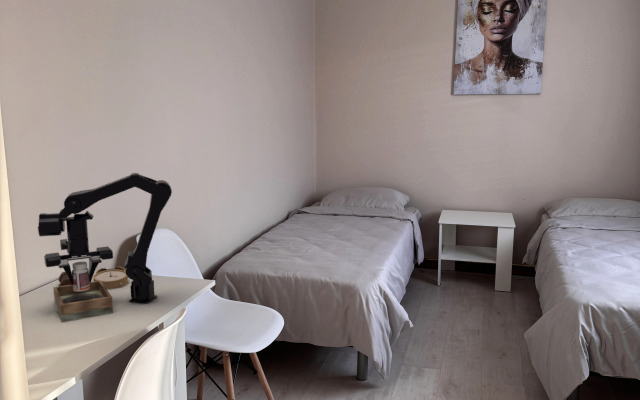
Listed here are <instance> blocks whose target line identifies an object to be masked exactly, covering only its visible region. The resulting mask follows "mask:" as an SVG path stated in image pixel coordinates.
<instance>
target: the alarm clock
mask: <svg viewBox="0 0 640 400" xmlns="http://www.w3.org/2000/svg"><path fill="white" fill-rule="evenodd" d="M92 279H93V281H100V280H101V281H102V283H103V284H104V286H105V287H106V289H107V290H114V289H119V288H123V287H125V286H126V285H127V284H128V283H129V278H128V277H127V275H126V268H124V266H116V267H115V268H105V267H101V268H99V269H97V271H96V272H95V273H94V274H93V277H92Z"/></svg>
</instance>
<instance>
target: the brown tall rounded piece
mask: <svg viewBox="0 0 640 400" xmlns="http://www.w3.org/2000/svg"><path fill="white" fill-rule="evenodd" d="M57 281H58V282H59V284H58V286H57V287H59V286H66V285H71V282H70V280H69V278H68V276H67V273H66V272H65V271H63V272H61V273H60V275H59V277H58V279H57Z"/></svg>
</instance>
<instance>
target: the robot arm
mask: <svg viewBox="0 0 640 400" xmlns="http://www.w3.org/2000/svg"><path fill="white" fill-rule="evenodd" d="M171 187H172V186H171V185H170V184H169V182H168V181H166V180H164V179H163V180H162V179H159V180H156V179H153V178H150V177H147V176H145V175H142V174H140V173H138V172H132V173H131V174H129V175H127V176H123V177H121V178H119V179H116V180H114V181H111V182H108V183H106V184H102V185H100V186H98V187H95V188H91V189H84V190H83V189H82V190H79V191H74V192H71V193H69V194H68V195H67V197H66V198H65V199H64V201H63V206H64V207H63V208H62V209H60V211H59V212H55V213H53V212H52V213H45V212H44V213H43V212H42V213H41V212H40V213H39V215H38V226H37V231H38V235H39V237H52V236H54V237H55V236H61V235H62V233H65V230H66V233H67V234H66V235H67V238H64V239H60V240H59V241H60V242H59V243H60V250H61V251H65V250H66V251H67V254H63V255H62V254H60V253H59V252H53V253H52V252H51V253H46V254H45V255H44V256H43V260H44V264H45V267H46V268H52V267H58V269H63V270H64V272H66V273H67V276H68V278H69V280H70V282H71V285H73V278H72V269H71V265H70V263H69V261H76V260H84V259H88V264H89V265H88V270H89V282H92V279H93V276H94V275H95V273H96V272H95V271H96V269H97V267H98V266H99V264H100V263H101V264H102V262H103V260H106V261H107V260H112V259H114V251H113V250H112V248H110V247H109V246H108V245H107V246H102V247H101V246H99V247H96V250H95V251H90V245H89V231H88V221H89V220H90V221H91V220H93V219H94V218H95V217H94V215H93V214H92V213H90V211H89V210H87V209H88V208H90V207H91V206H93V205H94V204H96V203H98V202H100V201H102V200H105V199H107V198H110V197H112V196H115V195H117V194H120V193H123V192H126V191H127V190H130V189H134V188H136V189H139V190H142V191H144V192H145V193H148V194H150V200H149V207H148V210H147V213H146V215H145V216H146V217H145V219H144V223H143V226H142V227H141V231H140V235H139V238H138V239H137V240H138V241H137V244H136V245H135V246H136V247H135V249H134V250H133V251H130V250H128V252H127V258H126V259H125V261H124V266H123V268H124V269H125V270H126V275H127V277H128V279H130V280H132V281H131V282H130V287H129V288H130V299H129V301H128V302H130V303H140V304H149V303H150V302H152V301H153V300H155V299H157V298H158V295H157V294H155V279H154V280H153V274H152V270H151V269H150V268H149V267H147V261H148V260H147V258H148V252H149V250H150V246H151V242H152V240H153V236H154V234H155V231H156V228H157V225H158V222H159V219H160V216H161V214H162V212H163V210H164V208H165V207H166V205H167V203H168V202H169V200H170V198H171V197H172V193H173V191H172V190H173V189H172V188H171ZM85 210H86V211H85ZM83 211H85V212H84V213H82V212H83ZM72 214H73V216H71V215H72ZM65 222H66V223H65Z"/></svg>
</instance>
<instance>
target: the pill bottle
mask: <svg viewBox="0 0 640 400" xmlns="http://www.w3.org/2000/svg"><path fill="white" fill-rule="evenodd" d="M71 273H72V278H73V290H74V291H76V292H82V291H86V290H88V289H89V288H90V284H89V267H88V264H87V261H78V262H74V263H72V269H71Z"/></svg>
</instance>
